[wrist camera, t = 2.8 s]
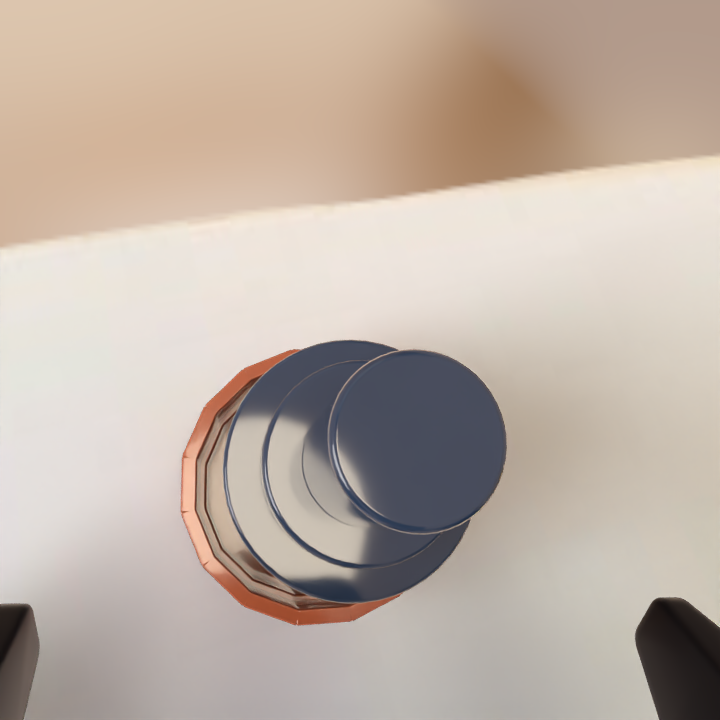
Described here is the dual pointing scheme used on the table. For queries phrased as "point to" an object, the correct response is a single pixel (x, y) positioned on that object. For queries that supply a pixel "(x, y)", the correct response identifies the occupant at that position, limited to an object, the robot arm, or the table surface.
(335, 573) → the bottle
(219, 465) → the bowl
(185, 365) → the table surface
